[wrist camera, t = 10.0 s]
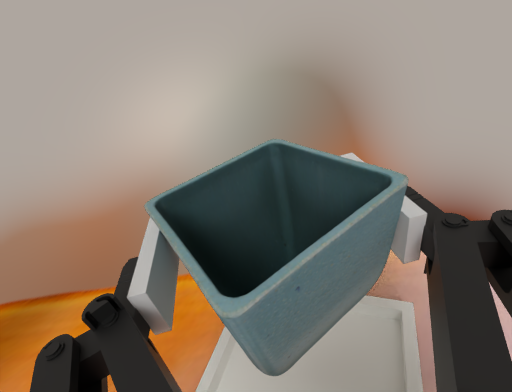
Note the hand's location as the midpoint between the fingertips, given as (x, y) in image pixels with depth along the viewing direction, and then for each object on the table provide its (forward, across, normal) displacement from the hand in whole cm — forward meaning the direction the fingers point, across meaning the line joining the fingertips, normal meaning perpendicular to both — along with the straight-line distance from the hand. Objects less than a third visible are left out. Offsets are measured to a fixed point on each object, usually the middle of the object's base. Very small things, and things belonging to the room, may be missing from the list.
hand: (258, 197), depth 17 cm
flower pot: (-4, 0, -6) cm, 7 cm away
